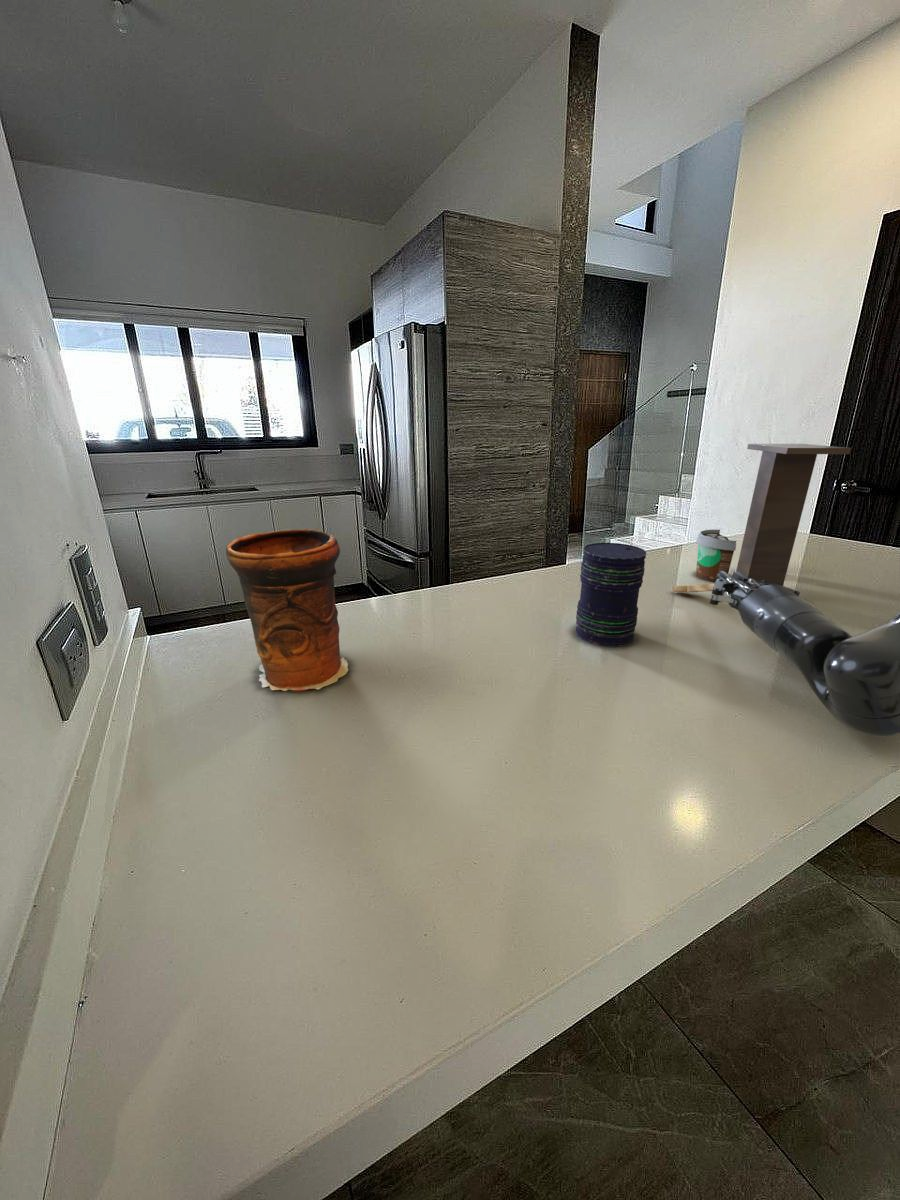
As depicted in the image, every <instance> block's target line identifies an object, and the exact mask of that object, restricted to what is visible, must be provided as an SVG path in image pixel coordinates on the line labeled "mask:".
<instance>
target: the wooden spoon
mask: <svg viewBox="0 0 900 1200" xmlns="http://www.w3.org/2000/svg"><path fill="white" fill-rule="evenodd" d="M714 585H715V583H704V584H692V585H672V592H673V593H701V592H703V593H704V592H712V590H713V587H714Z"/></svg>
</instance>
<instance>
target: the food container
mask: <svg viewBox="0 0 900 1200" xmlns="http://www.w3.org/2000/svg"><path fill="white" fill-rule="evenodd" d="M720 533H721V529H704V530H701V531H700V533H699V534H698V535H697V537H696V539H695V542H696V543H697V544H698V548H697V558H696V568H695V576H696V577H697V578H698V579H701V580H703V581H707V582H710V583H716V582H715V581H716V577H717V574H719V571H725V572H726V573H727V574H729V573H730V568H731V564H732V562H733V561H732V560H733V556H734V552H736V549H737V540H731V539H729V538H728V537H727V536H725V535H722V534H720Z"/></svg>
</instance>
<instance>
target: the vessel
mask: <svg viewBox="0 0 900 1200" xmlns="http://www.w3.org/2000/svg"><path fill="white" fill-rule="evenodd" d="M225 554H226V558H227V561H228V563H229V565H230V566H231V568H233V570H234V571H235V572H236V574H237V576H238V579H239V580H238V581H239V583H240V584H239V585H240V587H241V590H242V595H243V601H244V605H245V608H246V611H247V614H248V617H249V620H250V625H251V628H252V632H253V636H254V637H253V638H254V644H255V647H256V653H257V654H258V657H259V658H260V661H261V663H260V664H259V666H258V669H259V671H260V672H261V674H259V675H258V676H259V678H258V681H259V682H261V688H267V687H269V689H270V690H271V691H280V690H281V691H283V692H286V691H288V690H291V691H297V692H299V691H307V690H320V689H321V690H322V688H323V687H327V686H330V685H332V684H334V683H337V682H338V680H339V678H342V677H344V676H345V675H347V673H348V671H349V663H348V661H347V659H345V658H344V656H341V650H340V649H341V647H340V624H339V621H338V617H339V610H338V608H337V605H336V595H335V594H336V591H335V589H336V588H335V575H336V574H337V570H336V562H337V561H338V559H339V558H340V557H339V556H340V555H341V549H340V545H339V542H338V540H337V538H336V537H335V536H334V535H333V534H330V533H328V532H325V531H323V530H320V529H311V528H310V529H309V528H299V529H281V530H280V529H279V530H275V531H274V530H273V531H269V532H260V533H253V534H248V535H245V536H239V537H237V538H235V539H233V540H232V541H231V542H230V543H229V544H228V545H226V548H225Z"/></svg>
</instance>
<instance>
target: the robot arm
mask: <svg viewBox="0 0 900 1200" xmlns="http://www.w3.org/2000/svg"><path fill="white" fill-rule="evenodd" d="M714 584H715V585H714V587H713V590H712V591H711V594H710V598H709V604H710V605H712V606H718V605H719V604H722V603H727V604H728V605H729V607H731V609H735V610H737V611H738V613H739V616H740V619H741V621H742V622H743V624H744V625H745V626H746V627H747V628H748V629H749V630H750V631H751V632H753V634H755V635H756V636H757V637H758V638H759V640H762V642H764V643H765V645H767V646H768V647H769V648H770V649H772V650H773V651H775V652H776V653H778V654H780V655H781V656H782V657H783V658H784V660H786V661H787V662H789V664H791V666H793V667H795V669H797V670H798V671H799V672H800V673H801V675H802V676H803V678H804V679H805V681H806V683H807V684H808V686H809V687H810V689H811V690H812V691H813V692H814V694H815V695H816V697H817V698H818V699H819V701H820V702H821V703H822V705H823V706H824V708H826V710H827V711H828V712H829V713H830V714H831V715H832V716H833V717H834V718H835V719H836V720H837V721H838V722H840V723H841V724H842V725H844V726H846V727H847V728H848V729H851V730H853V731H855V732H858V733H861V734H863V735H868V736H871V737H872V736H873V737H892V736H895V735H899V734H900V611H899V612H897V613H896V614H895V615H894V616H892V618H890V619H889V620H888V621H887V622H886V623H884V624H882V625H879V626H876V627H874V628H870V629H868V630H866V631H864V632H861V633H859V634H856V635H853V636H852V635H851V634H850V633H849V632H847V630H845V629H844V627H841V626H840V624H839V625H838V624H837V623H836V622H834V621H832V620H831V619H830V618H829V617H827V616H825V614H823V613H822V611H820V610H819V609H818V608H817V607H815V606H814V604H813V605H812V603H810V602H809V601H807V600H805V599H804V598H803V597H801V596H800V593H801V592H800V591H799V590H795V589H793V588H790V587H787V586H784V585H783V586H781V585H778V584H775V583H772V582H769V581H767V580H761V582H758V581H756V580H755V579H753V578H747V577H746V576H745V575H743V574H741V573H740V572H736V571H733V573H732V575H730V574H729V573H728V574H727V573H726V572H725V571H719V574H717V577H716V581H715V582H714Z"/></svg>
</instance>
